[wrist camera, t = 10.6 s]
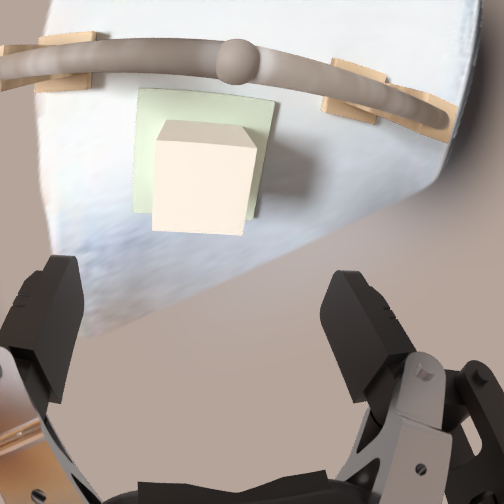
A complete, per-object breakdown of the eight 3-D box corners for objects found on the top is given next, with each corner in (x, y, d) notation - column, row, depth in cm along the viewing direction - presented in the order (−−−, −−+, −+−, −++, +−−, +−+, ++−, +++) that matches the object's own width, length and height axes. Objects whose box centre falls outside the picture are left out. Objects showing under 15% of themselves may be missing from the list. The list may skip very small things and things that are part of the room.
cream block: (166, 119, 19) (155, 140, 15) (241, 125, 21) (257, 148, 16) (161, 189, 22) (152, 230, 17) (231, 193, 23) (242, 235, 18)
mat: (140, 87, 18) (138, 88, 18) (273, 100, 20) (275, 101, 20) (133, 209, 23) (132, 212, 23) (251, 217, 25) (252, 220, 25)
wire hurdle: (45, 37, 15) (-113, 47, 3) (379, 73, 20) (544, 121, 8) (40, 91, 17) (-113, 158, 5) (368, 121, 22) (517, 206, 10)
